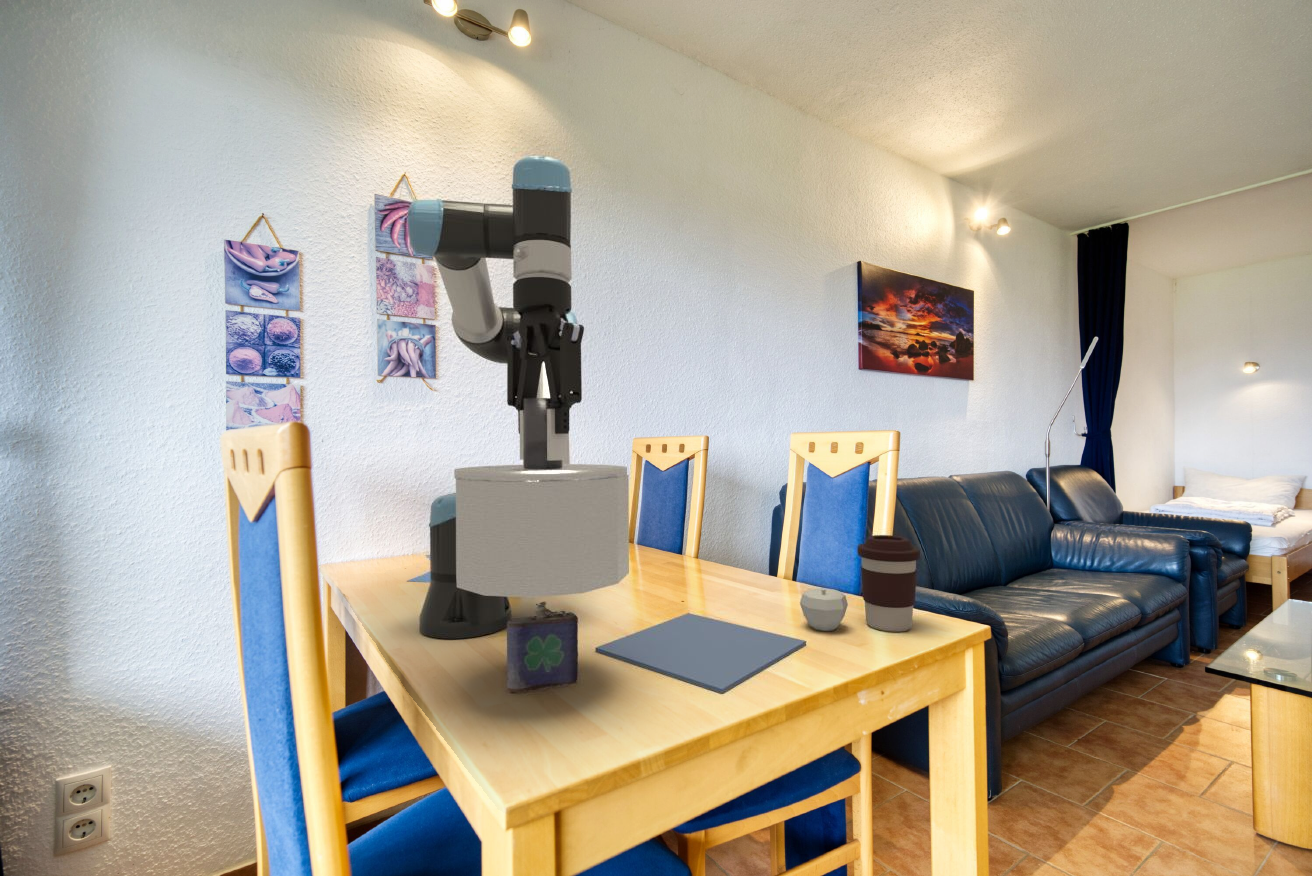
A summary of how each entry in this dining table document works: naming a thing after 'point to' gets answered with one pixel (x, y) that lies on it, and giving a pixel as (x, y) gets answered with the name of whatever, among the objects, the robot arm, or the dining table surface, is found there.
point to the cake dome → (541, 522)
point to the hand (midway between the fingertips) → (543, 459)
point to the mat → (702, 650)
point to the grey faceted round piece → (823, 608)
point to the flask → (542, 650)
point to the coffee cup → (888, 581)
